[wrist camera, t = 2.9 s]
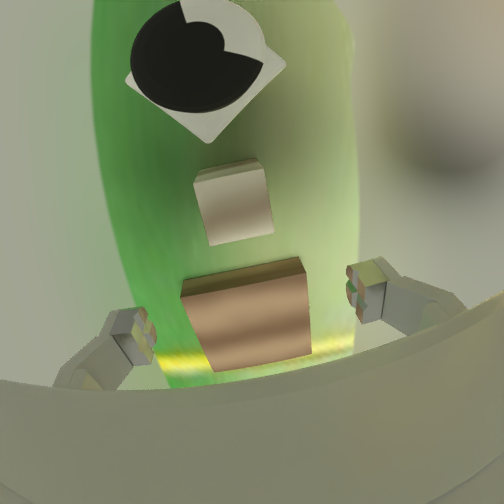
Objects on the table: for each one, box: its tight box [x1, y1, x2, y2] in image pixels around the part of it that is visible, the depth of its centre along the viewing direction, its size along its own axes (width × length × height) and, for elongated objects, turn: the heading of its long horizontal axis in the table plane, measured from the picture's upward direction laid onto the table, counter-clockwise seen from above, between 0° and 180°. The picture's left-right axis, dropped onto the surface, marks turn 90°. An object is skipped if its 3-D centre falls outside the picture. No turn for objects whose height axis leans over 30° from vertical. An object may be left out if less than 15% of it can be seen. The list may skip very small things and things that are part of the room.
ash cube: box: [193, 158, 275, 246], centre depth 22 cm, size 5×5×5 cm
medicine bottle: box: [125, 0, 286, 143], centre depth 14 cm, size 7×7×12 cm
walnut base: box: [180, 257, 312, 372], centre depth 29 cm, size 12×12×3 cm
